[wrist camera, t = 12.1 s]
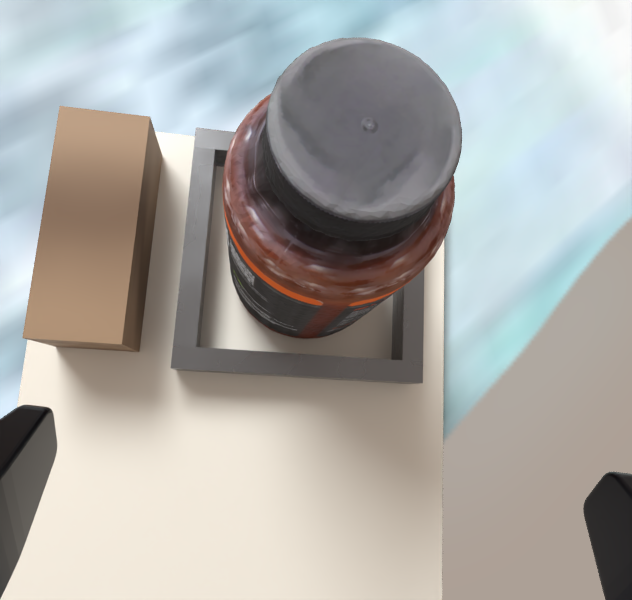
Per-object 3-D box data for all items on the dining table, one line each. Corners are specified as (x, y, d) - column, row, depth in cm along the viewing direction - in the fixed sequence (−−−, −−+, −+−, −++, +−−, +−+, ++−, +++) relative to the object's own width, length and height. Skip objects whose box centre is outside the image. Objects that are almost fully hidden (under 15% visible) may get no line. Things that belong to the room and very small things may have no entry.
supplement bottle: (397, 240, 22) (556, 80, 11) (337, 367, 21) (450, 331, 10) (271, 174, 22) (303, -59, 11) (201, 298, 20) (155, 179, 9)
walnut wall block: (139, 351, 20) (121, 344, 17) (55, 346, 19) (22, 337, 16) (162, 155, 21) (149, 116, 18) (85, 146, 21) (59, 106, 18)
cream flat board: (432, 630, 20) (442, 642, 19) (-8, 633, 18) (-22, 646, 17) (436, 175, 24) (444, 165, 23) (70, 133, 22) (62, 120, 21)
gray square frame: (410, 384, 21) (422, 383, 19) (175, 370, 20) (170, 368, 18) (413, 170, 23) (425, 154, 21) (198, 145, 21) (195, 127, 20)
